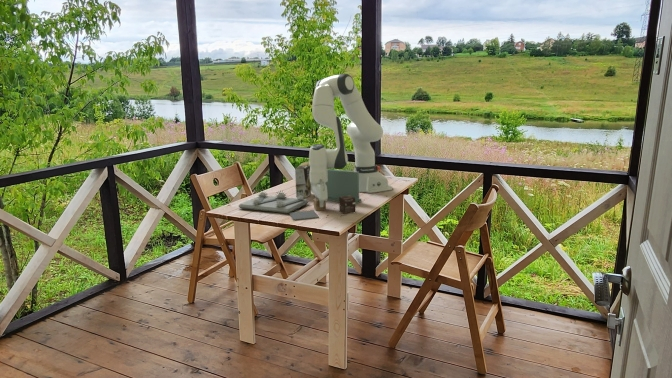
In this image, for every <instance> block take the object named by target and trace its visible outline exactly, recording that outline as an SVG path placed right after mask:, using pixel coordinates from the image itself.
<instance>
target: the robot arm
mask: <svg viewBox="0 0 672 378" xmlns="http://www.w3.org/2000/svg"><path fill="white" fill-rule="evenodd" d="M354 81H355V80H354V79H353V77H352V76H351V75H350V74H348V73H341V74H334V75H331V76H327V77H325V78H321V79H319V80H317V81H316V84H315V87H314V88H315V89H314V92H313V97H312V103H311V104H312V107H311V109H312V111H311V113H312V114H311V115H312V118H313V119H314V121H315V122H316V123H317V124H319V125H321V126H323V127H326V128H328V129H331V130H332V131H333V132H334V138H335V145H336V148H326V145H324V144H323V143H316V144H315V143H314V144H312V145H311V146H310V147H309V154H308V162H309V165H310V175H309V179H310V182H311V193H313V195H314V196H315V198H319V201H320V203H319V206H320V207H323V203H324V201H325V200H326V201H328V200H327V199H328V194H327V186H326V184H325V182H327V181H328V171H327V169H334V170H342V169H344V168H345V167H346V166H347V165H348V163H349V157H348V153H347V149H346V143H345V137H344V130H343V127H342V121H341V118H340V117H339V116H337V115H336V111H335V98H338V97H339V100H340V102H341V105H342V108H343V109H344V112H345V114H346V117H347V118H348V119H349V120H350V121H351V122H350V123H348V125H347V127H346V133H347V136H348V137H349V138H350V140H351V143H352V146H353V150H354V158H355V159H354V161H355V164H354V169H353V170H354V171H356V172H359V193H367V194H372V193H378V192H379V193H380V192H387V191H393V186H392V185H391V184H389V179H388V177H386V176H385V175H383V174H382V173H381V172H379V171H380V170H381V168H382V167H381V166H379V165H376V164H375V163H376V155H375V150H374V148H373V146H372V145H371V143H374V142H379V140H381V139H382V137H383V135H384V134H383V133H384V130H383V126H381V124H379V123H378V122H377V121H376V120H375V119H374V118H373V117H372V115H371V114H370V113H369V111H368V109H367V107H366V105H365V103H364V101H363V97H362V96H361V93H360V91H359V89H358V88H357V86H356V84H355V82H354Z"/></svg>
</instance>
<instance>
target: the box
mask: <svg viewBox="0 0 672 378" xmlns="http://www.w3.org/2000/svg"><path fill="white" fill-rule="evenodd" d="M338 203H339V204H338V206H339V209H338V210H339V212H340V213H342V214H344V215H348V214H353V213H354V212H355V213H356V204H355V198H354V197H352V196H342V197H339V202H338Z"/></svg>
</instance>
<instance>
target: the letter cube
mask: <svg viewBox="0 0 672 378" xmlns="http://www.w3.org/2000/svg"><path fill="white" fill-rule="evenodd" d="M319 203H320V201H319V198H316V197H315V198H313V209H314V211H315V212H317V211H318V212H319V211H326V210H327V200H325V201H324V203H323V207H320V206H319Z"/></svg>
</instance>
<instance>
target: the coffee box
mask: <svg viewBox="0 0 672 378" xmlns="http://www.w3.org/2000/svg"><path fill="white" fill-rule="evenodd" d="M294 169H295V171H294V172H295V173H294V174H295V175H294V176H295V193H296V195H295V197H296V198H298V197H300V196H301V195H302V196H303V197H304V198H308V197H309V196H310V195H311V194H312V189H311V182H310V179H309V175H310V166H300V165H298V166H297V167H295V168H294ZM297 196H298V197H297ZM303 197H302V198H303Z"/></svg>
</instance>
